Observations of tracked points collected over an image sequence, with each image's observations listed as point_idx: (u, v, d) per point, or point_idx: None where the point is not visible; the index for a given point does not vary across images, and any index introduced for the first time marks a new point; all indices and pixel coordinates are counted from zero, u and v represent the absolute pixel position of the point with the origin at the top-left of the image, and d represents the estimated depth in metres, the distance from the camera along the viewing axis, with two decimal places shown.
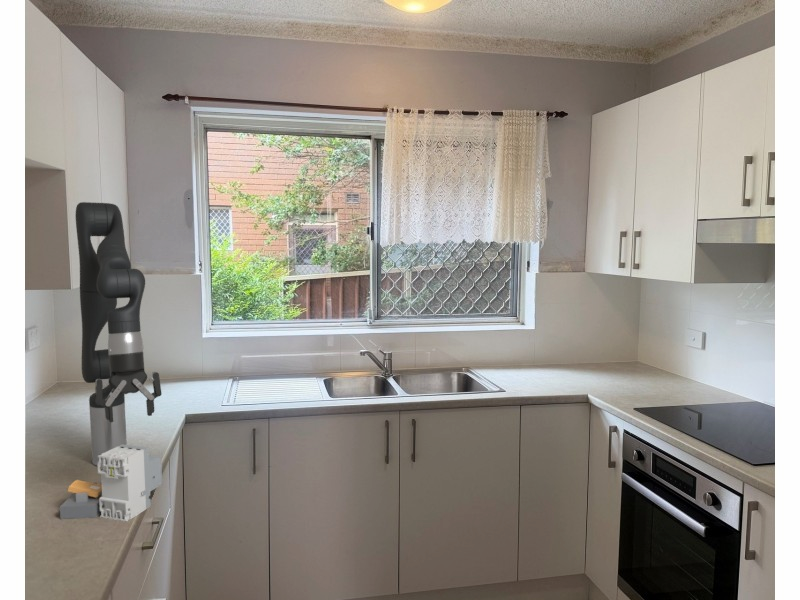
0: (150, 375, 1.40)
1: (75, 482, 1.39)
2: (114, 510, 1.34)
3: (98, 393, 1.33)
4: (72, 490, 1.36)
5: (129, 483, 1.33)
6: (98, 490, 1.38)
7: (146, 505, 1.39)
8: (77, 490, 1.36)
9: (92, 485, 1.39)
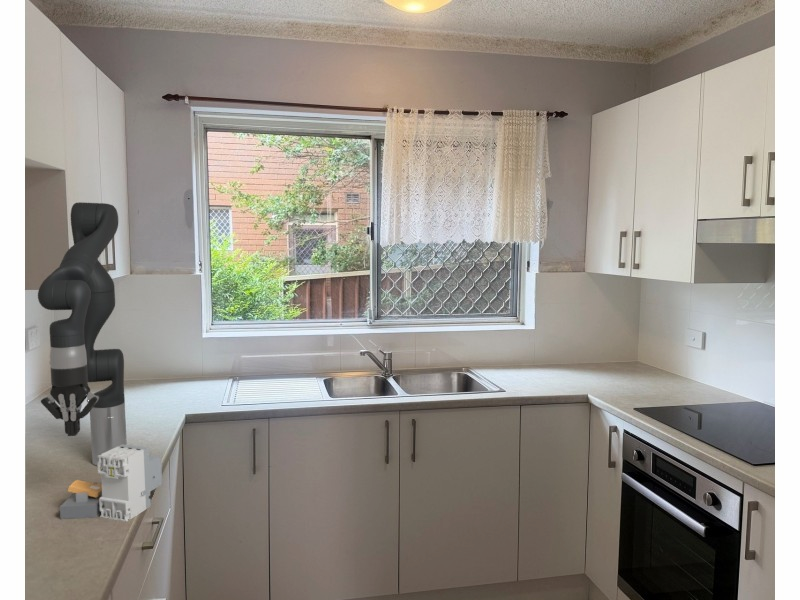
0: (90, 396, 1.36)
1: (75, 482, 1.39)
2: (114, 510, 1.34)
3: (50, 410, 1.34)
4: (72, 490, 1.36)
5: (129, 483, 1.33)
6: (98, 490, 1.38)
7: (146, 505, 1.39)
8: (77, 490, 1.36)
9: (92, 485, 1.39)
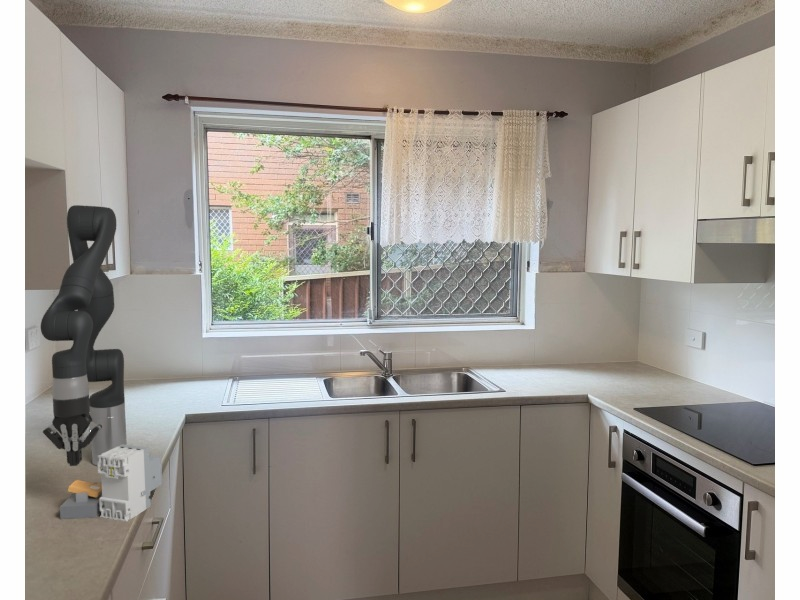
0: (92, 425, 1.37)
1: (75, 482, 1.39)
2: (114, 510, 1.34)
3: (52, 440, 1.35)
4: (72, 490, 1.36)
5: (129, 483, 1.33)
6: (98, 490, 1.38)
7: (146, 505, 1.39)
8: (77, 490, 1.36)
9: (92, 485, 1.39)
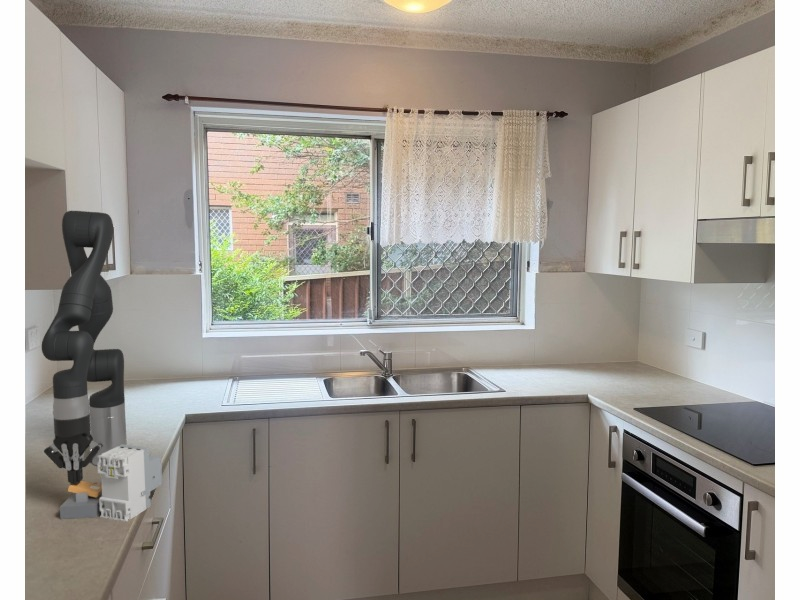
0: (93, 445, 1.37)
1: None
2: (114, 510, 1.34)
3: (53, 460, 1.36)
4: (72, 490, 1.36)
5: (129, 483, 1.33)
6: (98, 490, 1.38)
7: (146, 505, 1.39)
8: (77, 490, 1.36)
9: (92, 485, 1.39)
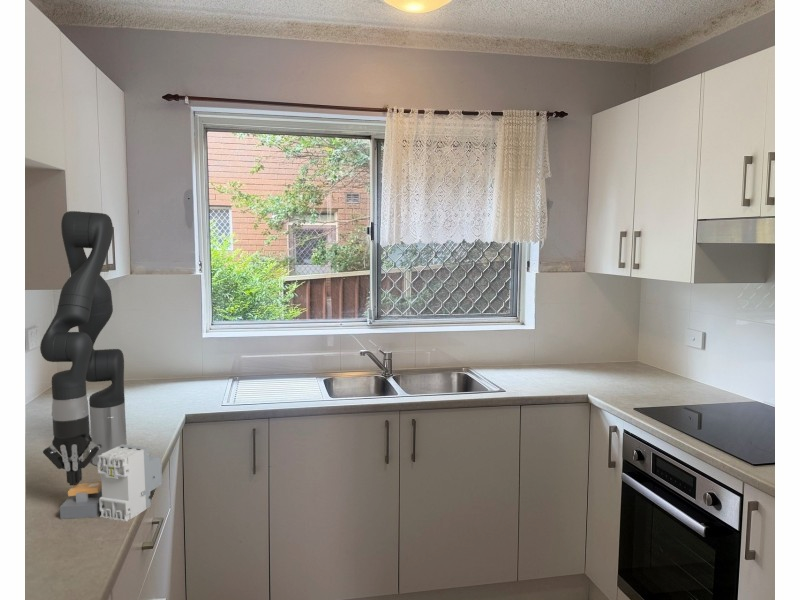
0: (92, 446, 1.37)
1: (74, 486, 1.39)
2: (114, 510, 1.34)
3: (52, 460, 1.36)
4: (72, 493, 1.36)
5: (129, 483, 1.33)
6: (97, 486, 1.38)
7: (146, 505, 1.39)
8: (77, 492, 1.36)
9: (91, 484, 1.39)
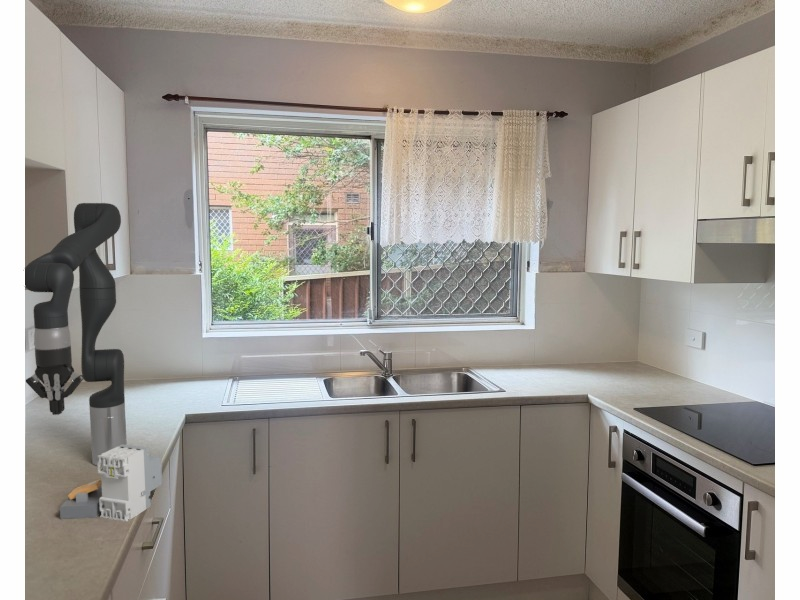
0: (74, 376, 1.40)
1: (74, 490, 1.39)
2: (114, 510, 1.34)
3: (35, 389, 1.38)
4: (73, 496, 1.36)
5: (129, 483, 1.33)
6: (96, 483, 1.38)
7: (146, 505, 1.39)
8: None
9: (90, 483, 1.39)
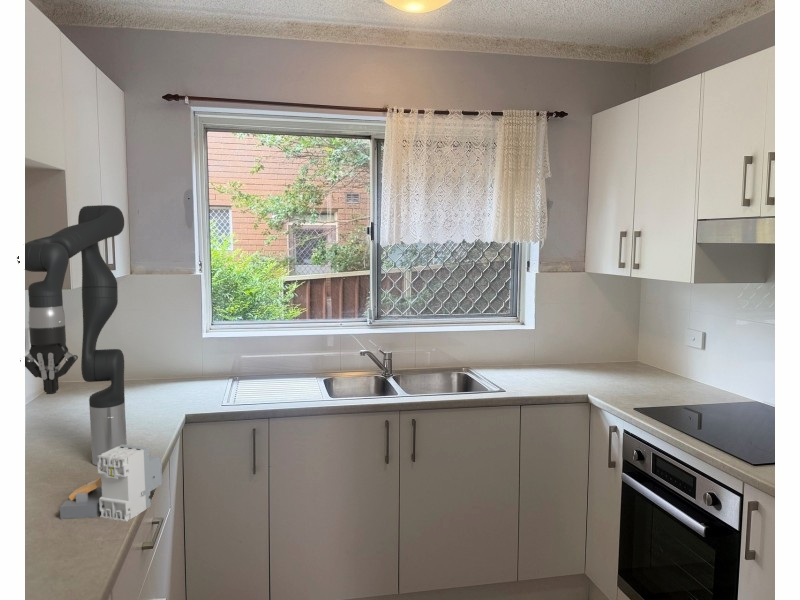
0: (68, 355, 1.41)
1: (74, 491, 1.39)
2: (114, 510, 1.34)
3: (29, 369, 1.39)
4: (74, 497, 1.36)
5: (129, 483, 1.33)
6: (95, 482, 1.38)
7: (146, 505, 1.39)
8: None
9: (90, 483, 1.39)
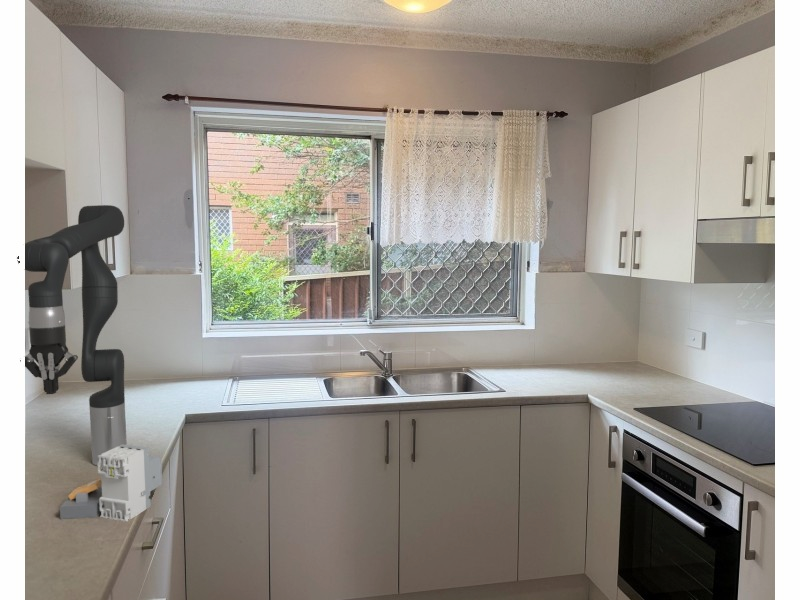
0: (68, 355, 1.41)
1: (74, 490, 1.39)
2: (114, 510, 1.34)
3: (29, 369, 1.39)
4: (73, 496, 1.36)
5: (129, 483, 1.33)
6: (95, 482, 1.38)
7: (146, 505, 1.39)
8: None
9: (90, 483, 1.39)
